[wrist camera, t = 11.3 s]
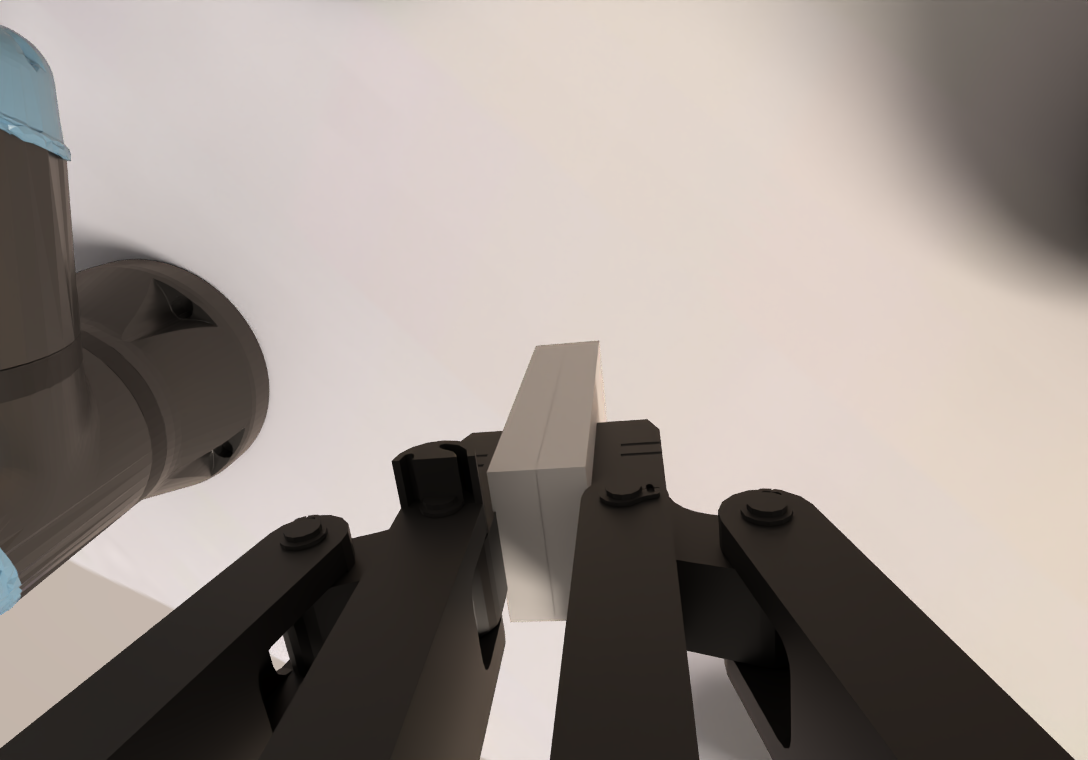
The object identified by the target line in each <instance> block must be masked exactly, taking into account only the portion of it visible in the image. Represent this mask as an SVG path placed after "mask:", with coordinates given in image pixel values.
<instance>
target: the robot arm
mask: <svg viewBox="0 0 1088 760" xmlns="http://www.w3.org/2000/svg"><path fill="white" fill-rule="evenodd" d="M67 161H71V154H70V151H69V149H68V148H67V146H66V145H65V144H64V141H63V135H62V129H61V123H60V117H59V110H58V103H57V96H56V89H55V82H54V78H53V73H52V71H51V69H50V66H49V65H48V63H47V61H46V59H45V58H44V56H43V55H42V54H41V53H40V51H39V50H38V49H37V48H36V47H35V46H34V45H33V44H32V43H31V42H30V41H28V40H27V39H26V38H24V37H23V36H21V35H20V34H18V33H17V32H15V31H13V30H11V29H9V28H7V27H5V26H2V25H0V615H2V614H3V613H5V612H6V611H7V610H9V609H11V608H12V607H13V606H14V605H15V604H16V603H17V602H18V601H19V600H20V599H21V598H22V597H23V596H25V595H26V594H27V593H28V592H29V591H31V590H32V589H33V588H34V587H36V586H37V585H38V584H39V583H40V582H42V581H43V580H44V579H45V578H46V577H48V576H49V575H50V574H51V573H53V572H54V571H55V570H56V569H58V568H59V567H60V566H61V565H62V564H64V563H65V562H66V561H67V560H69V559H70V558H71V557H72V556H73V555H75V554H76V553H77V552H78V551H80V550H81V549H82V548H83V547H84V546H86V545H87V544H88V543H89V542H91V541H92V540H93V539H94V538H95V537H97V536H98V535H99V534H100V533H101V532H103V531H104V530H105V529H106V528H108V527H109V526H110V525H111V524H112V523H114V522H115V521H116V520H117V519H119V518H120V517H121V516H122V515H123V514H125V513H126V512H127V511H128V510H130V509H131V508H132V507H133V506H134V505H136V504H137V503H138V502H140V501H141V500H143V499H146V498H150V497H153V496H157V495H160V494H164V493H168V492H171V491H175V490H178V489H182V488H185V487H189V486H192V485H195V484H198V483H201V482H203V481H206V480H208V479H210V478H212V477H213V476H215V475H217V474H219V473H220V472H222V471H223V470H224V469H226V468H227V467H228V466H229V465H230V464H232V463H233V462H234V461H235V460H236V459H237V458H239V457H240V456H241V455H242V454H243V453H244V452H245V451H246V450H247V449H248V448H249V447H250V446H251V445H252V443H253V442H254V440H255V439H256V437H257V436H258V434H259V432H260V430H261V428H262V426H263V423H264V420H265V417H266V414H267V409H268V403H269V379H268V372H267V367H266V363H265V360H264V356H263V353H262V351H261V348H260V346H259V343H258V341H257V339H256V337H255V335H254V333H253V331H252V330H251V328H250V327H249V325H248V323H247V322H246V321H245V319H244V318H243V316H242V315H241V314H240V313H239V311H238V310H237V309H236V308H235V307H234V306H233V304H232V303H231V302H230V301H229V300H228V299H227V298H226V297H225V296H223V295H222V294H221V293H220V292H219V291H218V290H216V289H215V288H214V287H212V286H211V285H210V284H208V283H207V282H205V281H204V280H202V279H201V278H199V277H197V276H195V275H194V274H192V273H190V272H188V271H185V270H183V269H181V268H178V267H176V266H173V265H169V264H166V263H162V262H158V261H152V260H143V259H129V260H120V261H115V262H111V263H107V264H103V265H99V266H96V267H92V268H89V269H86V270H83V271H80V272H78V273H76V272H75V261H74V248H73V235H72V222H71V209H70V196H69V183H68V170H67ZM392 465H393V470H394V475H395V480H396V485H397V490H398V495H399V500H400V505H401V510H400V511H399V513H398V515H397V517H396V518H395V520H394V522H393V524H392V525H391V527H390V529H389V530H385V531H382V532H378V533H374V534H369V535H365V536H360V537H356V538H351V533H350V529H349V525H348V523H347V522H346V521H345V520H344V519H343V518H340V517H336V516H332V515H310V516H308V517H307V518H306V516H305V517H301V518H298V519H296V520H294V521H293V522H291V523H288V524H286V525H283V526H281V527H280V528H278V529H277V530H275V531H273V532H272V533H270V534H269V535H268V536H266V537H265V538H264V539H263V540H261V541H260V542H259V543H257V544H256V545H255V546H254V547H252V548H251V549H250V550H249V551H247V552H246V553H245V554H244V555H242V556H241V557H240V558H239V559H237V560H236V561H235V562H234V563H232V564H231V565H230V566H229V567H227V568H226V569H225V570H224V571H222V572H221V573H220V574H219V575H217V576H216V577H215V578H214V579H212V580H211V581H210V582H209V583H207V584H206V585H205V586H204V587H202V588H201V589H200V590H198V591H197V592H196V593H195V594H193V595H192V596H191V597H190V598H188V599H187V600H186V601H185V602H183V603H182V604H181V605H180V606H178V607H177V608H176V609H175V610H173V611H172V612H171V613H170V614H169V615H167V616H166V617H165V618H163V619H162V620H161V621H160V622H159V623H157V624H156V625H155V626H153V627H152V628H151V629H150V630H148V631H147V632H146V633H145V634H143V635H142V636H141V637H139V638H138V639H137V640H136V641H134V642H133V643H132V644H131V645H130V646H128V647H127V648H126V649H124V650H123V651H122V652H121V653H119V654H118V655H117V656H116V657H114V658H113V659H112V660H111V661H110V662H108V663H107V664H106V665H104V666H103V667H102V668H101V669H100V670H98V671H97V672H96V673H94V674H93V675H92V676H91V677H89V678H88V679H87V680H86V681H84V682H83V683H82V684H81V685H79V686H78V687H77V688H76V689H74V690H73V691H72V692H70V693H69V694H68V695H67V696H65V697H64V698H63V699H62V700H61V701H59V702H58V703H57V704H55V705H54V706H53V707H52V708H50V709H49V710H48V711H47V712H45V713H44V714H43V715H42V716H40V717H39V718H38V719H37V720H35V721H34V722H33V723H32V724H30V725H29V726H28V727H27V728H25V729H24V730H23V731H22V732H20V733H19V734H18V735H16V736H15V737H14V738H13V739H12V740H10V741H9V742H8V743H6V744H5V745H4V746H3V747H1V748H0V760H480V755H481V751H482V746H483V742H484V737H485V733H486V728H487V724H488V719H489V715H490V710H491V706H492V701H493V697H494V692H495V688H496V683H497V679H498V674H499V670H500V665H501V661H502V656H503V652H504V647H505V631H504V625H503V619H502V611H503V607H504V603H505V599H506V597H507V604H508V610H509V616H510V622H532V621H566V628H565V637H564V645H563V654H562V662H561V671H560V679H559V688H558V696H557V704H556V713H555V721H554V730H553V738H552V747H551V755H550V760H699V753H698V744H697V736H696V727H695V719H694V710H693V701H692V693H691V684H690V675H689V667H688V658H687V651H691V652H696V653H700V654H705V655H709V656H714V657H719V658H723V659H724V661H725V667H726V671H727V675H728V677H729V679H730V680H731V682H732V684H733V686H734V688H735V690H736V692H737V694H738V695H739V697H740V699H741V701H742V703H743V705H744V707H745V708H746V710H747V712H748V714H749V716H750V718H751V720H752V722H753V723H754V725H755V727H756V729H757V731H758V733H759V735H760V737H761V738H762V740H763V742H764V744H765V746H766V748H767V750H768V751H769V753H770V755H771V757H772V759H773V760H1075V759H1074V758H1073V757H1072V756H1071V755H1070V754H1069V753H1067V752H1066V751H1065V750H1064V749H1063V748H1062V747H1061V746H1060V745H1059V744H1058V743H1057V742H1056V741H1055V740H1054V739H1053V738H1052V737H1051V736H1050V735H1049V734H1048V733H1047V732H1046V731H1045V730H1044V729H1043V728H1042V727H1041V726H1040V725H1039V724H1038V723H1037V722H1036V721H1035V720H1034V719H1033V718H1032V717H1031V716H1029V715H1028V714H1027V713H1026V712H1025V711H1024V710H1023V709H1022V708H1021V707H1020V706H1019V705H1018V704H1017V703H1016V702H1015V701H1014V700H1013V699H1012V698H1011V697H1010V696H1009V695H1008V694H1007V693H1006V692H1005V691H1004V690H1003V689H1002V688H1001V687H1000V686H999V685H998V684H997V683H996V682H995V681H994V680H993V679H992V678H990V677H989V676H988V675H987V674H986V673H985V672H984V671H983V670H982V669H981V668H980V667H979V666H978V665H977V664H976V663H975V662H974V661H973V660H972V659H971V658H970V657H969V656H968V655H967V654H966V653H965V652H964V651H963V650H962V649H961V648H960V647H959V646H958V645H957V644H956V643H955V642H954V641H952V640H951V639H950V638H949V637H948V636H947V635H946V634H945V633H944V632H943V631H942V630H941V629H940V628H939V627H938V626H937V625H936V624H935V623H934V622H933V621H932V620H931V619H930V618H929V617H928V616H927V615H926V614H925V613H924V612H923V611H922V610H921V609H920V608H919V607H918V606H917V605H916V604H915V603H913V602H912V601H911V600H910V599H909V598H908V597H907V596H906V595H905V594H904V593H903V592H902V591H901V590H900V589H899V588H898V587H897V586H896V585H895V584H894V583H893V582H892V581H891V580H890V579H889V578H888V577H887V576H886V575H885V574H884V573H883V572H882V571H881V570H880V569H879V568H878V567H877V566H875V565H874V564H873V563H872V562H871V561H870V560H869V559H868V558H867V557H866V556H865V555H864V554H863V553H862V552H861V551H860V550H859V549H858V548H857V547H856V546H855V545H854V544H853V543H852V542H851V541H850V540H849V539H848V538H847V537H846V536H845V535H844V534H843V533H842V532H841V531H840V530H839V529H838V528H836V527H835V526H834V525H833V524H832V523H831V522H830V521H829V520H828V519H827V518H826V517H825V516H824V515H823V514H822V513H821V512H820V511H819V510H818V509H817V508H816V507H815V506H814V505H813V504H812V503H810V502H808V501H807V500H805V499H804V498H802V497H801V496H798V495H795V494H791V493H788V492H785V491H782V490H777V489H773V490H771V489H759V490H748V491H745V492H741V493H738V494H734V495H732V496H730V497H729V498H727V499H726V500H724V501H723V502H722V504H721V506H720V508H719V510H718V515H711V514H705V513H700V512H694V511H692V510H689V509H686V508H683V507H681V506H680V505H678V504H676V503H675V502H674V501H673V500H672V499H671V498H670V497H669V494H668V492H667V490H666V482H665V474H664V465H663V457H662V448H661V440H660V431H659V429H658V428H657V427H656V426H655V425H654V424H652V423H651V422H650V421H649V420H648V419H645V420H630V421H615V422H607V417H606V407H605V396H604V386H603V375H602V365H601V354H600V344H599V341H589V342H577V343H565V344H553V345H541V346H536V347H535V350H534V352H533V355H532V358H531V360H530V363H529V365H528V368H527V370H526V373H525V376H524V378H523V381H522V383H521V386H520V388H519V391H518V393H517V396H516V399H515V401H514V404H513V406H512V409H511V411H510V414H509V417H508V419H507V422H506V424H505V427H504V429H503V431H495V432H480V433H472V434H470V435H469V436H467V437H466V438H465V439H463V440H462V441H461V442H460V441H437V442H430V443H425V444H422V445H418V446H415V447H412V448H410V449H408V450H406V451H404V452H402V453H400V454H399V455H398V456H397V457H395V458H394V459H393V460H392ZM282 635H283V637H284V640H285V644H286V648H287V651H288V655H289V658H290V660H289V661H288V662H287V663H286V664H285V665H284V666H283V667H282V668H281V669H279V670H278V671H276V670H275V669H274V667H273V664H272V661H271V657H270V654H269V649H270V648H271V646H272V645H273V644H274V643H275V642H276V641H277V640H278V639H279V638H280V637H281V636H282Z"/></svg>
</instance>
